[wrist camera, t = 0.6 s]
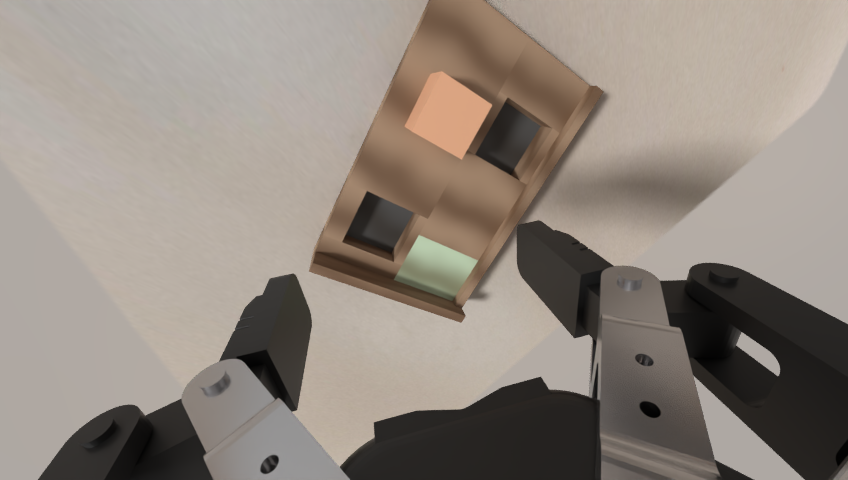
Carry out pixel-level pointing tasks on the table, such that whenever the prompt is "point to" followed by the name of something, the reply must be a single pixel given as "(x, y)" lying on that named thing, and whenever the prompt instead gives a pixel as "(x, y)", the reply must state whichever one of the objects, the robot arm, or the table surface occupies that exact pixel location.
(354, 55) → the table surface
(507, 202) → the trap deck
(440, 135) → the terracotta block
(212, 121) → the table surface
